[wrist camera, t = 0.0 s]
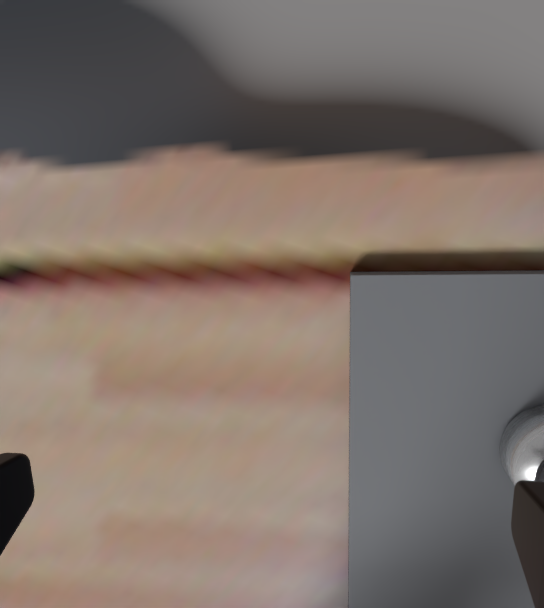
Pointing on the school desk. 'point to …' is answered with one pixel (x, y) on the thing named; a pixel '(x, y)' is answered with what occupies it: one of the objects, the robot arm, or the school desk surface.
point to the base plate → (438, 434)
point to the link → (523, 445)
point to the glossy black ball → (540, 472)
